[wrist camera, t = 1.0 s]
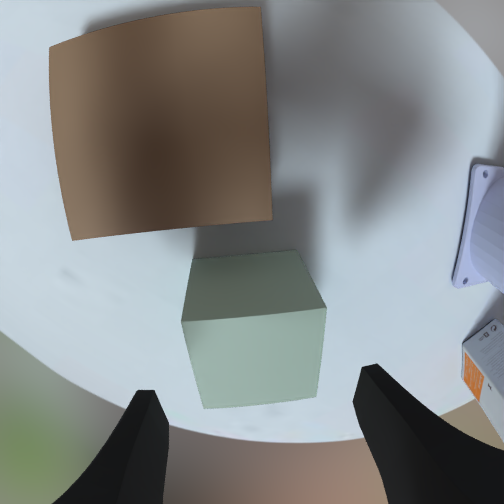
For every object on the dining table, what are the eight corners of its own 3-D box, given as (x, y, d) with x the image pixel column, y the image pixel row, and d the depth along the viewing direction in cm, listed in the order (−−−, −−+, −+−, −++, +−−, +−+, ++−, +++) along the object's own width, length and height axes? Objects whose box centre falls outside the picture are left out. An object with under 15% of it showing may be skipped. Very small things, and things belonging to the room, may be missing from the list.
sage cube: (296, 249, 15) (327, 307, 10) (294, 330, 17) (315, 396, 12) (192, 258, 15) (181, 322, 10) (206, 338, 17) (203, 408, 12)
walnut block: (252, 29, 11) (260, 6, 8) (262, 199, 14) (272, 219, 11) (80, 58, 10) (49, 47, 7) (98, 217, 13) (72, 240, 11)
